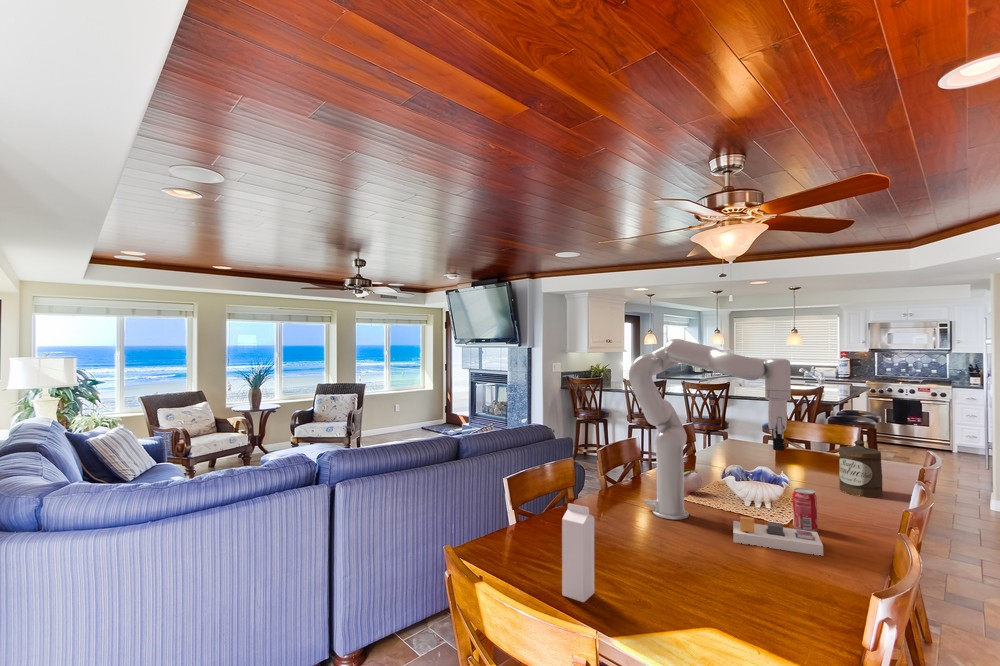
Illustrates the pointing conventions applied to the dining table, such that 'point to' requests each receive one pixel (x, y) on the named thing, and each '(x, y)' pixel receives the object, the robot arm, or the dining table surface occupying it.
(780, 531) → the button black
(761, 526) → the panel
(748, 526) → the thick orange block
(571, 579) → the milk
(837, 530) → the dining table surface
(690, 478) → the decorative fruit
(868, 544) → the dining table surface
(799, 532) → the button grey
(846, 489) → the wooden container
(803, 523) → the soda can
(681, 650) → the dining table surface
